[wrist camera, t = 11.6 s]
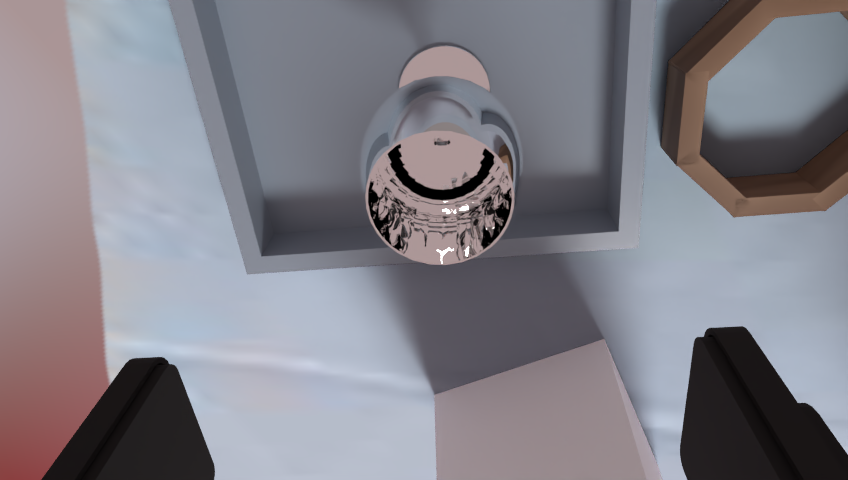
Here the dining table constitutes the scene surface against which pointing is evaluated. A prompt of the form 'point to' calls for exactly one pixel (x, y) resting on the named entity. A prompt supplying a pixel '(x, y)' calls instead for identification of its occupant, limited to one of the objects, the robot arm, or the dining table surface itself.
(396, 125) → the wineglass
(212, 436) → the dining table surface
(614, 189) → the tray
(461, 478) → the milk
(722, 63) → the collar
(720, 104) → the dining table surface
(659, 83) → the dining table surface
